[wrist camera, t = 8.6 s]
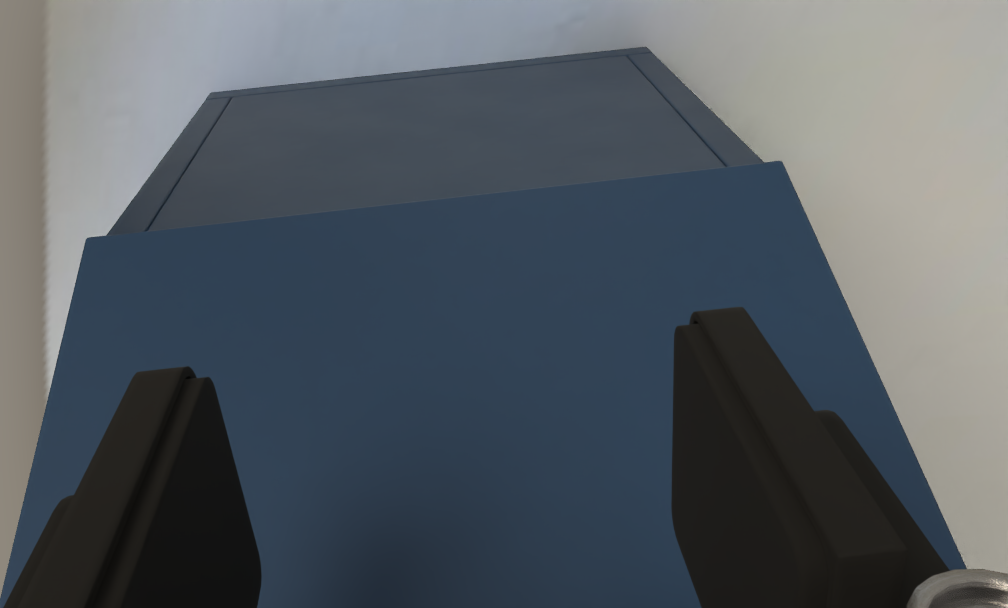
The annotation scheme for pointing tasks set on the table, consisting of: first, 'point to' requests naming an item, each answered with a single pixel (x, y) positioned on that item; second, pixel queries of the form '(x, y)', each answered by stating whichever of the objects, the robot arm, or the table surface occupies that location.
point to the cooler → (431, 138)
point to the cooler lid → (464, 381)
